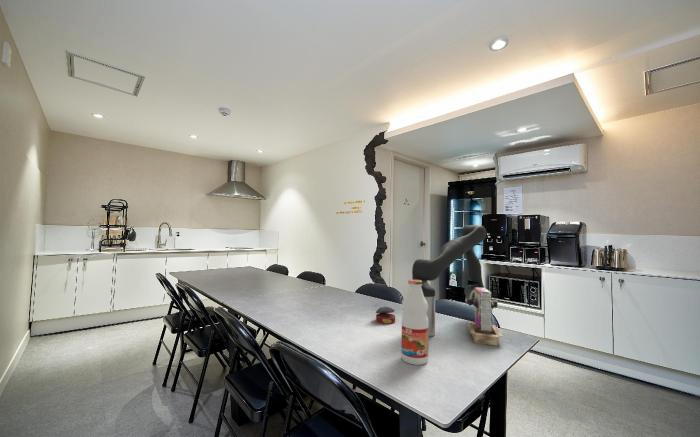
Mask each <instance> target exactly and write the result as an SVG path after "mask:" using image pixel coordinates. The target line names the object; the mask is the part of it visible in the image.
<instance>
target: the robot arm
mask: <svg viewBox="0 0 700 437" xmlns="http://www.w3.org/2000/svg"><path fill="white" fill-rule="evenodd" d="M486 237H487V229H486V228H485V226H483V225H480V224H479V225H478V224H475V225H472V224H469V225H467V224H466V225H464V226H463V228H462V229H461V236H459V237H456V238H452V239H450V240H449V241H448V242H446V243H445V244H443V245H442V247H441V248H440V250H439V251H440V252H439V255H438V256H437V257H435V258H434V259H421V258H420V259H419V258H418V259H416V260H414V262H413V264H412V269H411V272H412V276H411V277H412V279H411V280H421V281H422V286H421V288H422V292H423V295H424V297H425V299H426V301H427V303H428V311H427V317H428V324H429V327H428V338H430V337H433V336H435V335H436V290H435V288H433V287H432V286H431V285H430V284H429V283H428V282H429V281H430V282H431V281H434V280H437V279H438V278H439V277H440V275H442V274H443V273H444V271H445V270H446V269H447V268H449V267H450V266H451V265H452V264H453V263H454V262H456V261H458V260H459V259H460V258H461V257H462V256H464V255H465V259H466V260H465V261H466V272H467V273H466V274H467V279H468V281H470V282H474V283H477V285H476V284H475V285H474V284H468V285H465V287H464V295H465V304H467V305H468V306H474V308H475V307H476V308H478V302H477V301H476V299H475V289H474V288H475V287H478V288H485V285H484V281H483V278H482V265H481V262H480V260H479V258H478V256H477V254H476V253H475V251H474V249H473V248H474V247H476V246H477V245H479V244H481V243H483V241H484V240H485V239H486ZM498 301H499V300H498V299H493V300H492V310H493V309H495V308H497V309H498V303H499V302H498Z"/></svg>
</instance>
